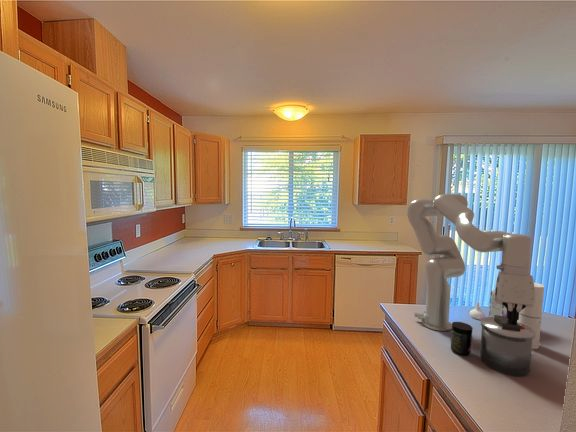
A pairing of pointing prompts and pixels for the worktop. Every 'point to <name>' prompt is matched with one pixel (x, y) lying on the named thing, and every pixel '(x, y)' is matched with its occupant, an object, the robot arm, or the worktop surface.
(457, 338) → the supplement container
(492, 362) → the dark grey rounded block
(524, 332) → the round plate
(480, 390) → the worktop surface
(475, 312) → the garlic bulb
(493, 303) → the candy box
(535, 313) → the cylindrical container
